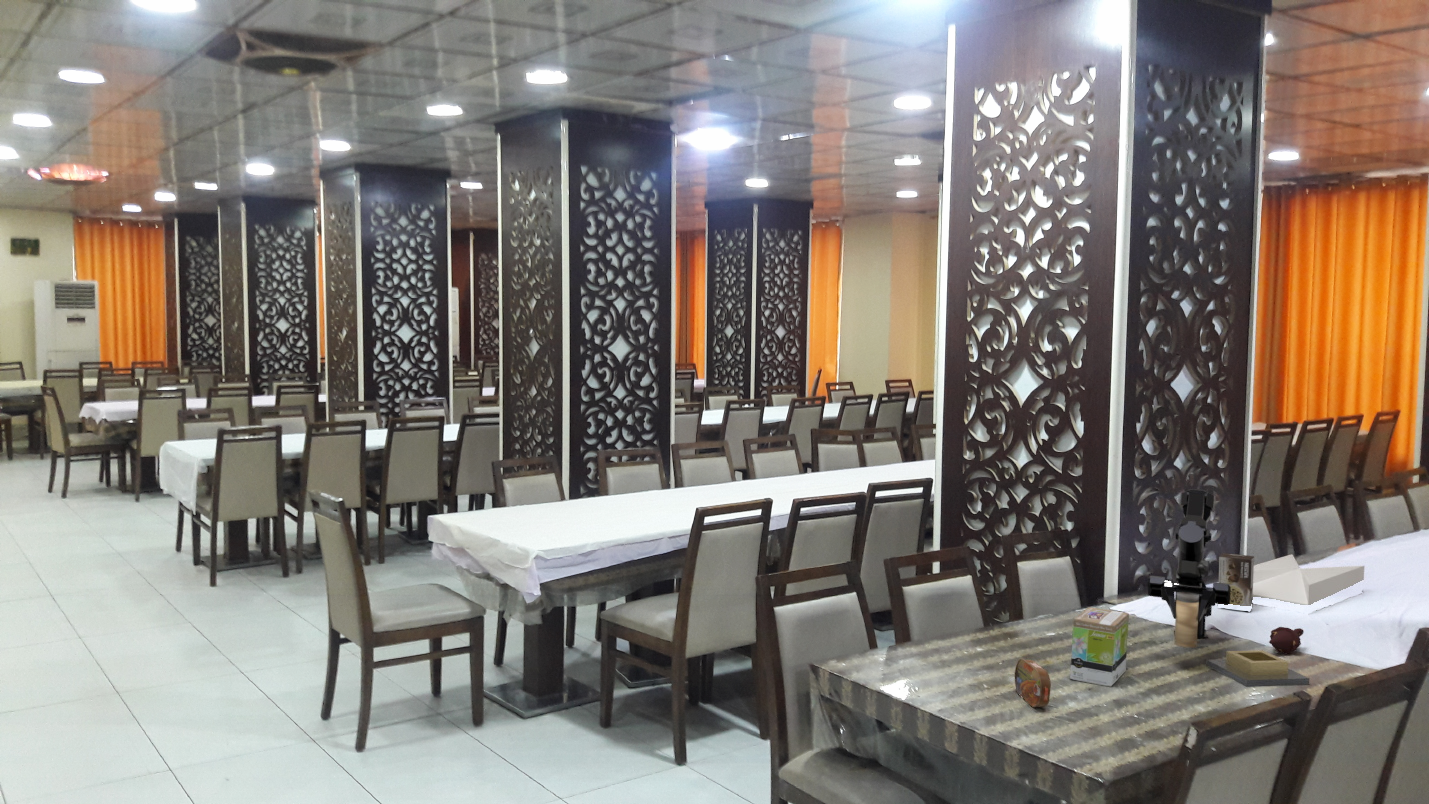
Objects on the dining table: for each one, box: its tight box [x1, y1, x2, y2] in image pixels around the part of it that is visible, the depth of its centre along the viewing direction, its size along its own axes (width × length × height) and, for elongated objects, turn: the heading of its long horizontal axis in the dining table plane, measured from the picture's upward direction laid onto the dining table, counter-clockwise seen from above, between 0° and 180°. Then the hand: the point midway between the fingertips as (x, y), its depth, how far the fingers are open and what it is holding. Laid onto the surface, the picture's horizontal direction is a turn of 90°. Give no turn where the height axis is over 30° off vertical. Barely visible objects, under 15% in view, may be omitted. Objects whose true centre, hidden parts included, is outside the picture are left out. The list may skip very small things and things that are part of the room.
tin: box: [1014, 658, 1052, 708], centre depth 240 cm, size 15×3×8 cm, turn 5°
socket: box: [1205, 649, 1310, 687], centre depth 262 cm, size 16×16×4 cm
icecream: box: [1268, 626, 1304, 655], centre depth 281 cm, size 7×7×15 cm
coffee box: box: [1218, 552, 1255, 606], centre depth 327 cm, size 9×6×16 cm
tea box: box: [1069, 606, 1130, 687], centre depth 259 cm, size 15×10×15 cm
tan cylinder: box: [1174, 592, 1199, 649], centre depth 265 cm, size 5×5×12 cm
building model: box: [1253, 554, 1365, 605], centre depth 344 cm, size 45×22×10 cm, turn 131°
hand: (1186, 619), depth 264 cm, fingers closed on tan cylinder, 5 cm apart
